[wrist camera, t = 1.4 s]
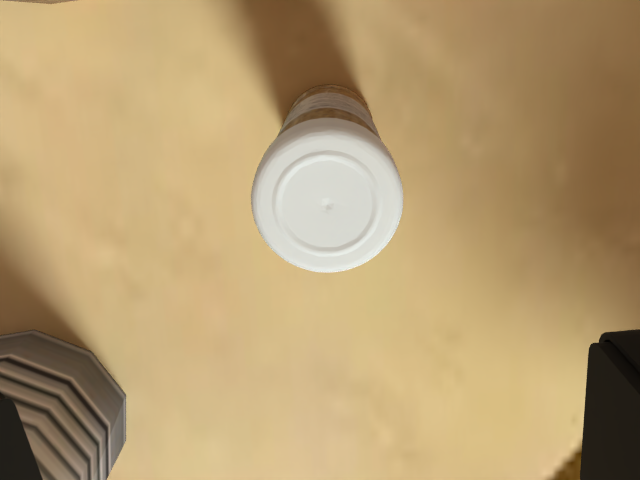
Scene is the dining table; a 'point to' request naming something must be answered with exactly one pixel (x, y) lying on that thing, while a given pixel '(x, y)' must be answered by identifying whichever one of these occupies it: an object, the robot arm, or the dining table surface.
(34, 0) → the tower base slab
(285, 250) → the sprinkles bottle
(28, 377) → the can
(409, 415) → the dining table surface
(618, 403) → the robot arm
